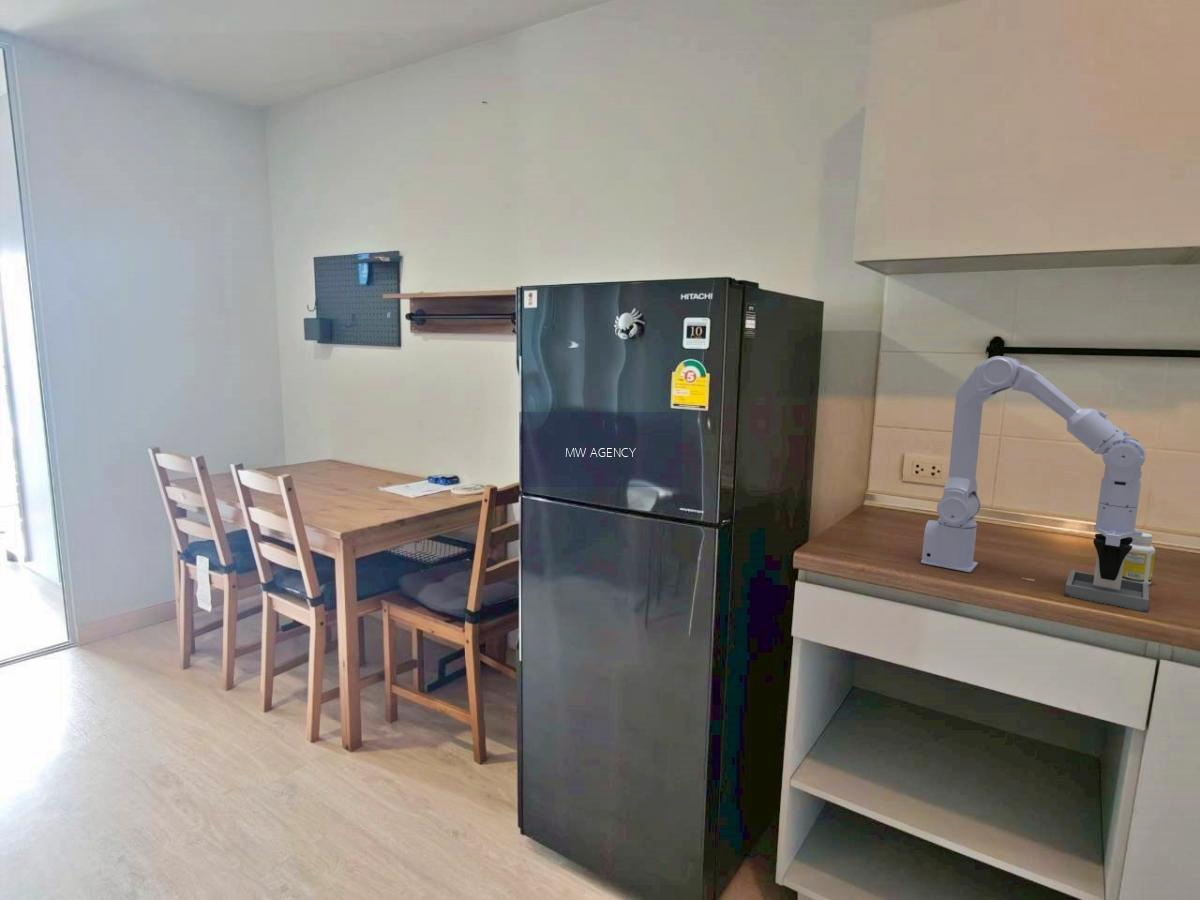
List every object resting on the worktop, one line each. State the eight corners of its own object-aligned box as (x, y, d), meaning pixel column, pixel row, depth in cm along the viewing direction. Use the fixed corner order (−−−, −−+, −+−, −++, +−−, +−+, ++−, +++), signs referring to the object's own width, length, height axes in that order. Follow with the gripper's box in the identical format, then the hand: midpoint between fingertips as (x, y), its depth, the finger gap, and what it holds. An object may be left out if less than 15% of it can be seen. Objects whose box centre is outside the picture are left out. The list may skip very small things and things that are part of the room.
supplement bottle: (1135, 577, 138) (1142, 530, 137) (1158, 586, 133) (1165, 537, 131) (1109, 576, 138) (1116, 530, 136) (1131, 585, 132) (1138, 537, 131)
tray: (1064, 596, 125) (1065, 584, 125) (1069, 580, 134) (1070, 570, 134) (1147, 612, 118) (1149, 600, 117) (1146, 595, 127) (1148, 583, 127)
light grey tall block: (1093, 584, 125) (1097, 548, 124) (1094, 579, 128) (1098, 544, 128) (1120, 589, 123) (1125, 552, 122) (1120, 584, 126) (1125, 548, 125)
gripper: (1146, 514, 116) (1135, 590, 117) (1145, 502, 127) (1135, 572, 129) (1095, 507, 120) (1085, 581, 122) (1099, 496, 131) (1090, 564, 133)
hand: (1108, 576), depth 125 cm, fingers closed on light grey tall block, 4 cm apart
